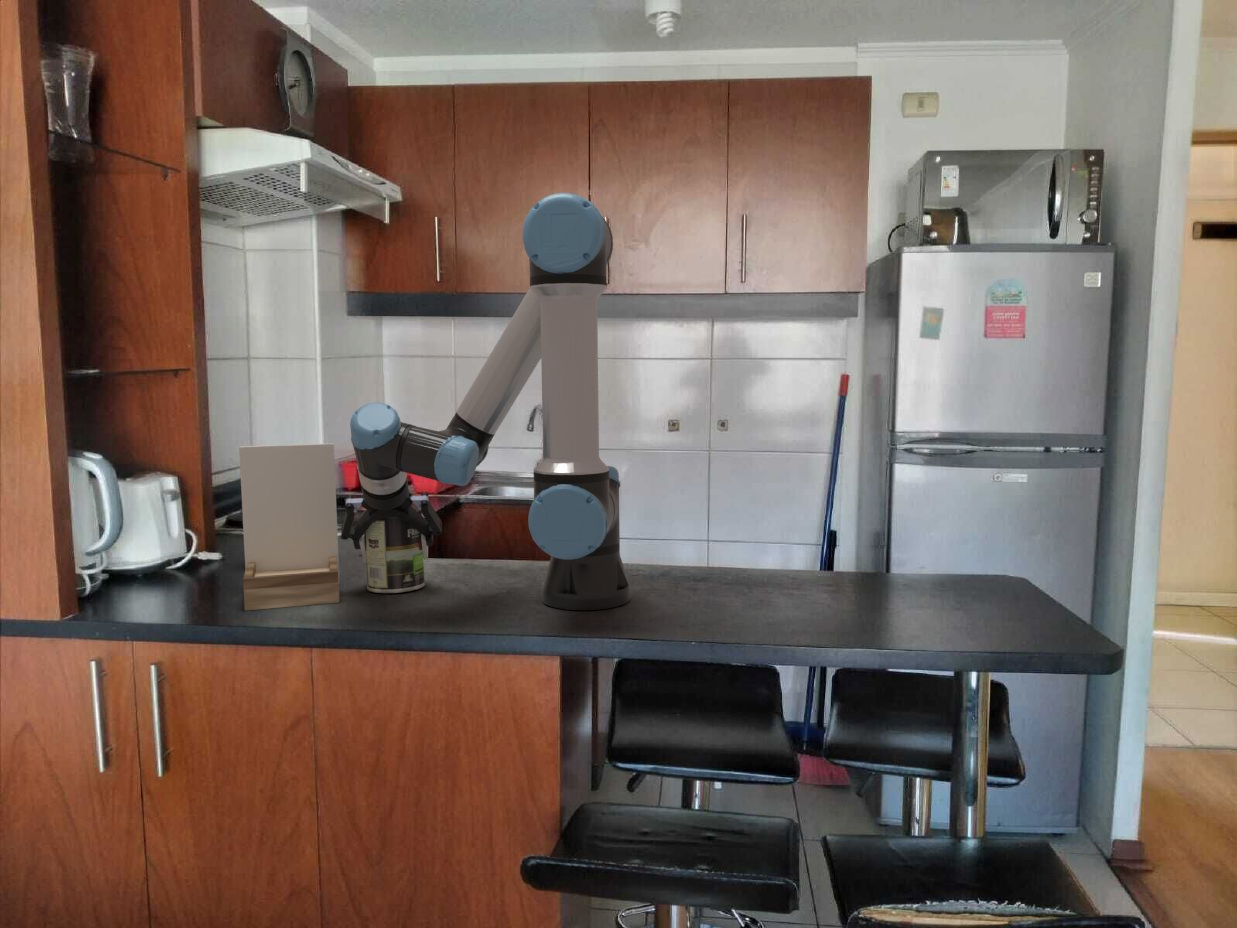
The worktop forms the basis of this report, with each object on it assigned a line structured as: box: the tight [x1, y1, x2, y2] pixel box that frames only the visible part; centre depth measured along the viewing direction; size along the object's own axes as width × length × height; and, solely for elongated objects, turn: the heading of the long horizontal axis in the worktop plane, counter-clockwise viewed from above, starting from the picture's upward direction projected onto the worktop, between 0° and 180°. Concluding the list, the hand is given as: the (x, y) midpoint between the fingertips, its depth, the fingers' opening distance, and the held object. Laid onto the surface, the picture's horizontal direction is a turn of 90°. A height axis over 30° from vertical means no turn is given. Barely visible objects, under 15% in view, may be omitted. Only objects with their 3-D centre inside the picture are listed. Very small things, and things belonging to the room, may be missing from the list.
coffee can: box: [362, 506, 426, 594], centre depth 168 cm, size 10×10×14 cm
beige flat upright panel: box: [238, 442, 340, 585], centre depth 169 cm, size 2×16×26 cm, turn 109°
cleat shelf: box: [242, 556, 340, 611], centre depth 162 cm, size 14×15×5 cm
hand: (396, 554), depth 171 cm, fingers closed on coffee can, 10 cm apart
